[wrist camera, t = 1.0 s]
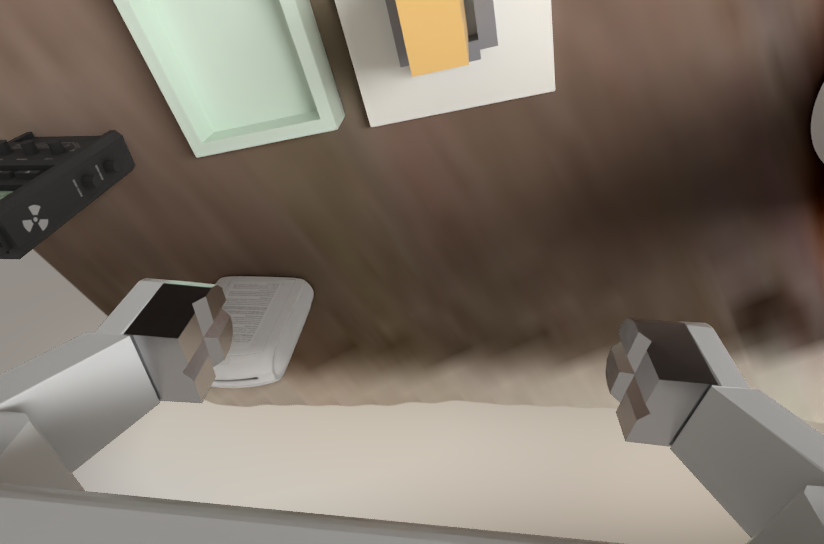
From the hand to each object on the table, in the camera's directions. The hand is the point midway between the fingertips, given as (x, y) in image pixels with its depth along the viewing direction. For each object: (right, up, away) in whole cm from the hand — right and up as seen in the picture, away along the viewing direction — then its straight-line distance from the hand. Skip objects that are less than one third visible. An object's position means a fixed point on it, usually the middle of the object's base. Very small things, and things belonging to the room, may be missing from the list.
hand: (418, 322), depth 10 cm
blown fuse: (+2, +20, +21) cm, 29 cm away
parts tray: (-13, +18, +25) cm, 34 cm away
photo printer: (-15, -1, +40) cm, 43 cm away
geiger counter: (-29, +12, +32) cm, 45 cm away
